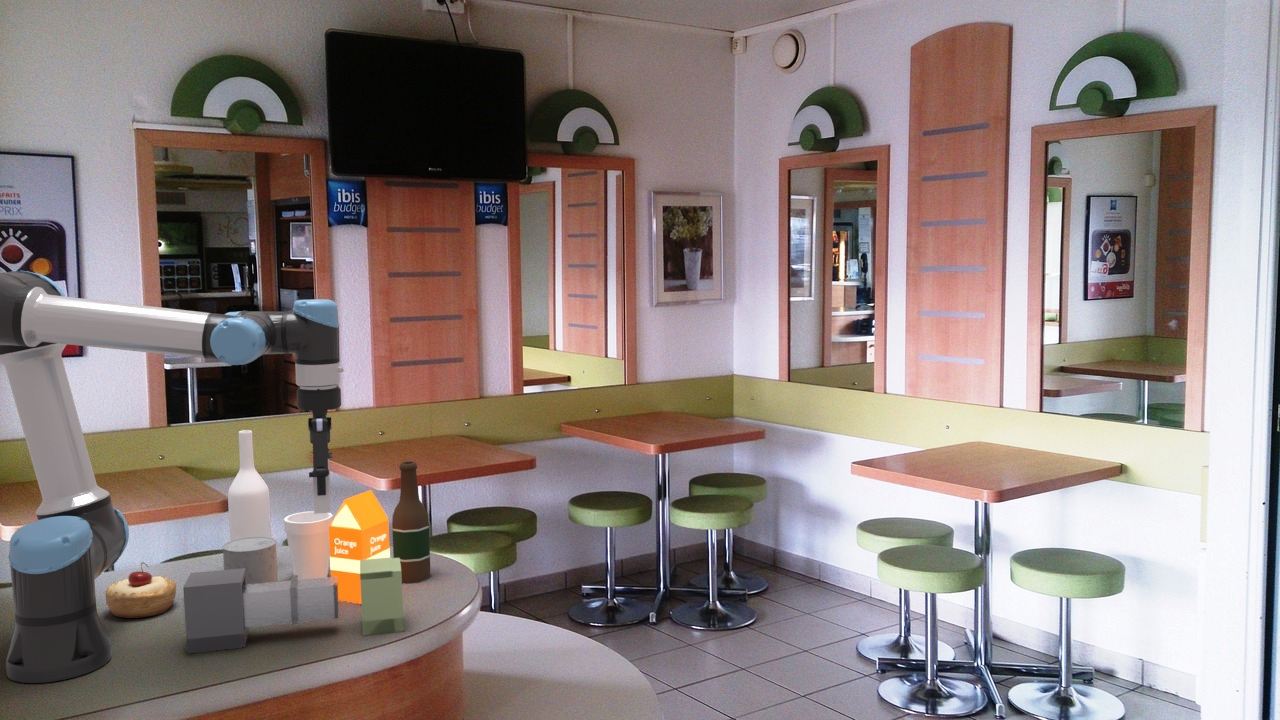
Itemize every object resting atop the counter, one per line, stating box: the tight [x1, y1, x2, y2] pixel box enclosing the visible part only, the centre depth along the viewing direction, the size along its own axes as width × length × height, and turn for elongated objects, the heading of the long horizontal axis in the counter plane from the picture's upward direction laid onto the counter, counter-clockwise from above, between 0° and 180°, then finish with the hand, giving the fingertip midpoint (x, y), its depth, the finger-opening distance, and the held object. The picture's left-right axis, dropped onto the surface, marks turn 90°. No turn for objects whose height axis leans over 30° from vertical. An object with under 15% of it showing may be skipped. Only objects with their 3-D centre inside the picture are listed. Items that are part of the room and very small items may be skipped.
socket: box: [360, 556, 405, 636], centre depth 187 cm, size 7×8×11 cm
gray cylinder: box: [221, 537, 279, 584], centre depth 197 cm, size 10×10×12 cm
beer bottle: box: [391, 460, 431, 584], centre depth 213 cm, size 8×8×24 cm
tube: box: [181, 574, 340, 635], centre depth 182 cm, size 25×7×7 cm, turn 105°
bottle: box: [227, 429, 273, 542], centre depth 217 cm, size 8×8×30 cm
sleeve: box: [182, 568, 250, 655], centre depth 180 cm, size 9×8×12 cm
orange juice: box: [329, 489, 391, 605], centre depth 203 cm, size 8×9×20 cm
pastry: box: [104, 561, 177, 619], centre depth 196 cm, size 12×12×9 cm
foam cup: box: [283, 510, 334, 580], centre depth 213 cm, size 10×9×13 cm
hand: (322, 503), depth 188 cm, fingers open, 13 cm apart
